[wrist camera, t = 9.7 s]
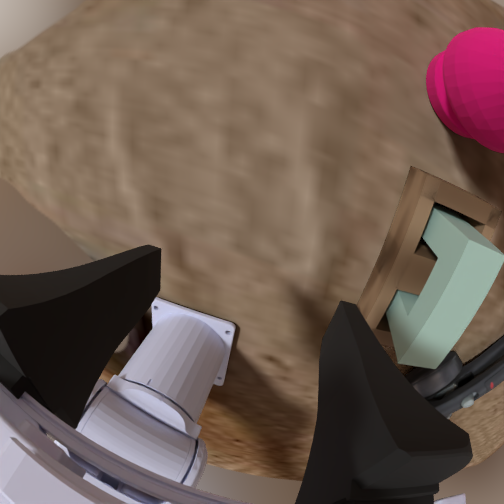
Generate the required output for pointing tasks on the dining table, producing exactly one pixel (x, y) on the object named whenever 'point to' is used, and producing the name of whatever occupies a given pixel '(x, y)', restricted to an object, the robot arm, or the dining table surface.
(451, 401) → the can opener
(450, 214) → the mint green foam block
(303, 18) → the dining table surface
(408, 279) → the brown wooden frame
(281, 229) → the dining table surface
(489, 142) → the pepper mill
